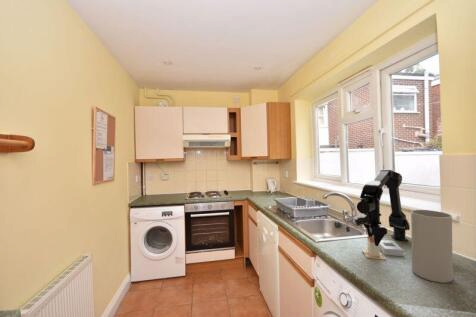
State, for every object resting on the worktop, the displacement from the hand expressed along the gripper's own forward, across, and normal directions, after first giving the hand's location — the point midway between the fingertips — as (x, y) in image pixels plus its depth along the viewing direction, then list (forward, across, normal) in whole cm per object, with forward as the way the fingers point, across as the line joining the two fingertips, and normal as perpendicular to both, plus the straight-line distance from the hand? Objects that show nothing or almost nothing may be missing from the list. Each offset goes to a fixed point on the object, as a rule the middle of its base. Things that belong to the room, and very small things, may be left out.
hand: (373, 242), depth 110 cm
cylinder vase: (+7, +15, +16) cm, 23 cm away
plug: (+6, 0, 0) cm, 6 cm away
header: (+6, -8, +10) cm, 14 cm away
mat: (+6, 0, 0) cm, 7 cm away
